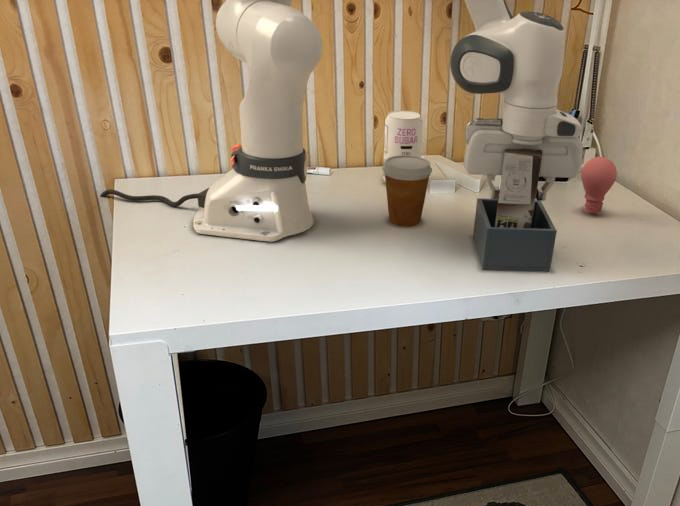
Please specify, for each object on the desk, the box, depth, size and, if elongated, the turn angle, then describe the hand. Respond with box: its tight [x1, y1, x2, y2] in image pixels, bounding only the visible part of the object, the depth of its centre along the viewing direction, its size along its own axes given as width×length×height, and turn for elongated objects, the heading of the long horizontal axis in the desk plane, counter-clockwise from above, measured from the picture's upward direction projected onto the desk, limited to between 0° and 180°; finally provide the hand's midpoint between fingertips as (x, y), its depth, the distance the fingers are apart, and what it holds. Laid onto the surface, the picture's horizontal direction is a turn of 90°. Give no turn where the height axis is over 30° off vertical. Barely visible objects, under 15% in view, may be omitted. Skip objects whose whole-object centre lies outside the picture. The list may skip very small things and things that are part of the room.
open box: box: [472, 197, 558, 273], centre depth 134 cm, size 12×15×8 cm
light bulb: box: [580, 156, 618, 215], centre depth 152 cm, size 7×7×12 cm
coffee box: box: [495, 149, 542, 228], centre depth 130 cm, size 9×6×16 cm
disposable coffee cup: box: [382, 155, 433, 228], centre depth 143 cm, size 10×10×12 cm
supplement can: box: [382, 110, 424, 183], centre depth 161 cm, size 8×8×15 cm
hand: (517, 198), depth 130 cm, fingers closed on coffee box, 7 cm apart
